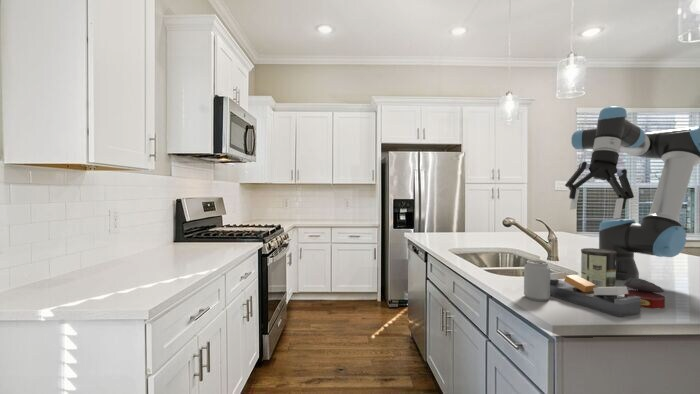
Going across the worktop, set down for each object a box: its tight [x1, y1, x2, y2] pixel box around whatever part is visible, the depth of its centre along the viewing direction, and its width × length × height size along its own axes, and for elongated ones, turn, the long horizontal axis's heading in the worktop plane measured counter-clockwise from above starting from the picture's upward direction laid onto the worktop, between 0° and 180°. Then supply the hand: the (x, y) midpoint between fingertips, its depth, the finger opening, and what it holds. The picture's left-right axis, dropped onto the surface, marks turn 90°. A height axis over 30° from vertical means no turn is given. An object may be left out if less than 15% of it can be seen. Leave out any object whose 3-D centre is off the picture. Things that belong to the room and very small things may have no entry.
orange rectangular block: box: [563, 274, 596, 292], centre depth 116 cm, size 7×4×2 cm, turn 22°
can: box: [523, 259, 551, 302], centre depth 117 cm, size 8×8×12 cm
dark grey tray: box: [550, 279, 642, 318], centre depth 116 cm, size 30×9×5 cm, turn 22°
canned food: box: [623, 277, 666, 309], centre depth 113 cm, size 11×10×10 cm
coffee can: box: [580, 247, 617, 288], centre depth 127 cm, size 10×10×14 cm
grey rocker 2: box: [593, 286, 629, 296], centre depth 107 cm, size 7×4×2 cm, turn 22°
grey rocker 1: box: [550, 271, 568, 280], centre depth 124 cm, size 7×4×2 cm, turn 22°
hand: (594, 213), depth 121 cm, fingers open, 13 cm apart
